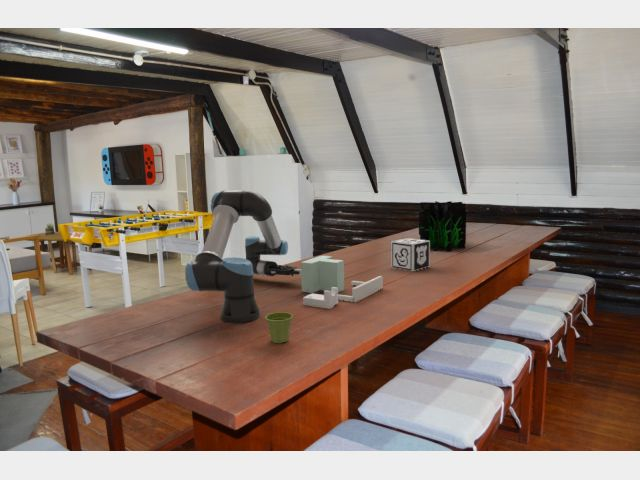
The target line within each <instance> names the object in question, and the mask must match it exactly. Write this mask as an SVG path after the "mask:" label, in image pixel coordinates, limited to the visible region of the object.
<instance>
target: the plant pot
mask: <svg viewBox="0 0 640 480" xmlns="http://www.w3.org/2000/svg"><path fill="white" fill-rule="evenodd" d="M293 318H294V317H293V314H292V313H290V312H285V311H283V312H282V311H279V312H273V313H272V312H271V313H268V314H267V315H266V316H264V319H265V321H266V322H267V325H268V330H269V331H268V332H269V336H270V340H271V342H272V343H274V344H282V343H287V342H288V341H290V333H291V322H292V319H293Z"/></svg>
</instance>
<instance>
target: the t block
mask: <svg viewBox="0 0 640 480" xmlns="http://www.w3.org/2000/svg"><path fill="white" fill-rule="evenodd" d="M300 269H301V292H304V293H309V294H312V293H313V294H315V293H316V292H318V291H322V292H324V291H331V288H332V287H336V288H338V293H340V292H342V291H344V290H345V261H344V260H341V259H333V255H331V256H330V255H323V254H322V255H319V256H316V257H313V258H309V259H307V260H303V261H301V262H300Z"/></svg>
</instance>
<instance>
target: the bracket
mask: <svg viewBox="0 0 640 480" xmlns="http://www.w3.org/2000/svg"><path fill="white" fill-rule="evenodd" d="M338 294H339V292H338V288H336V287H332V288H331V291H323V294H318V293H309V294H307V295H305V296H303V298H302V302H303V305H304V306H309V307H315V308H322V309H328V310H329V309H330V310H331V309H332V308H334V307H335V305H337V304H338V303H339V300H338Z"/></svg>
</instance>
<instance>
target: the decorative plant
mask: <svg viewBox="0 0 640 480" xmlns="http://www.w3.org/2000/svg"><path fill="white" fill-rule="evenodd" d="M418 235H419V239H420V240H429V241H430V250H431V249H432V252H437V251H439V249H440V250H444V251H446V252H452V251H453V249H465V248H466V244H467V243H466V241H467V240H466V239H467V237H466V236H467V208H466V203H463V201H451V200H450V201H445V202H440V201H434V202H420V203H419V210H418Z"/></svg>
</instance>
